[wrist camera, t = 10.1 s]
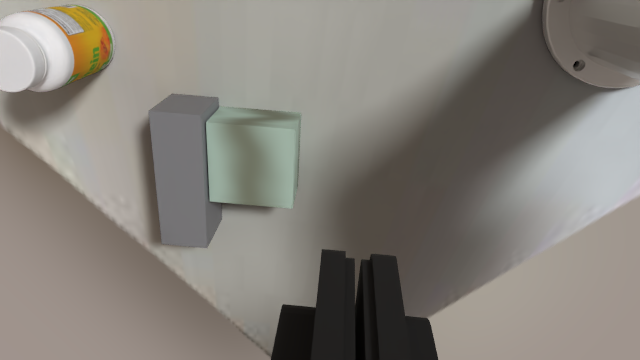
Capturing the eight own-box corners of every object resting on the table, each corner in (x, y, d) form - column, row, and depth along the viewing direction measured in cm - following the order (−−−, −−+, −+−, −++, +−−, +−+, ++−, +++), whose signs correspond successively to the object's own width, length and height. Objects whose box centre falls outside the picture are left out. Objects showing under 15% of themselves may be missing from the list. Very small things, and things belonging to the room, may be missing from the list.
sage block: (301, 112, 39) (295, 129, 35) (297, 184, 42) (292, 208, 38) (220, 105, 39) (206, 122, 35) (223, 178, 42) (209, 201, 38)
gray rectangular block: (218, 97, 39) (200, 115, 34) (221, 218, 44) (207, 248, 39) (171, 93, 39) (148, 110, 34) (181, 215, 44) (161, 243, 40)
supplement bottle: (98, 84, 39) (25, 120, 30) (41, 43, 38) (-53, 67, 29) (128, 34, 37) (59, 56, 28) (68, -12, 36) (-24, -3, 27)
